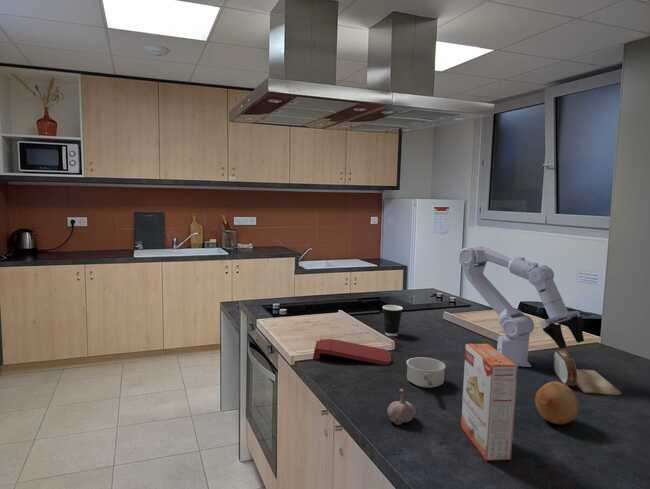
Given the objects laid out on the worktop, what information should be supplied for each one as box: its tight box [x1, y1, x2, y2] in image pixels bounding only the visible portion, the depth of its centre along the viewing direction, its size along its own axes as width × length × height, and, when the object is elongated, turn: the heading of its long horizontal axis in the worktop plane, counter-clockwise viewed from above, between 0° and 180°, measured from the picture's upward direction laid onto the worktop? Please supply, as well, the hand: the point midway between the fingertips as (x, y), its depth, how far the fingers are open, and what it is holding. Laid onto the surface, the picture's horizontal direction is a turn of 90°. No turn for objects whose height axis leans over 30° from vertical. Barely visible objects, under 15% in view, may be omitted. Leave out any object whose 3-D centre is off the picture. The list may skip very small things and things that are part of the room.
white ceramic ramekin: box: [405, 356, 447, 389], centre depth 133 cm, size 12×20×6 cm, turn 172°
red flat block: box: [312, 338, 392, 366], centre depth 156 cm, size 12×5×26 cm
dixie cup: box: [382, 304, 404, 337], centre depth 183 cm, size 8×8×11 cm
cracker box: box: [460, 343, 519, 462], centre depth 102 cm, size 14×6×21 cm, turn 5°
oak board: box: [575, 368, 622, 396], centre depth 141 cm, size 10×17×1 cm, turn 173°
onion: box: [534, 380, 581, 425], centre depth 114 cm, size 10×10×10 cm
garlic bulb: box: [386, 388, 416, 426], centre depth 113 cm, size 8×7×8 cm
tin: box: [553, 349, 577, 387], centre depth 141 cm, size 15×3×8 cm, turn 168°
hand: (572, 344), depth 141 cm, fingers open, 7 cm apart
